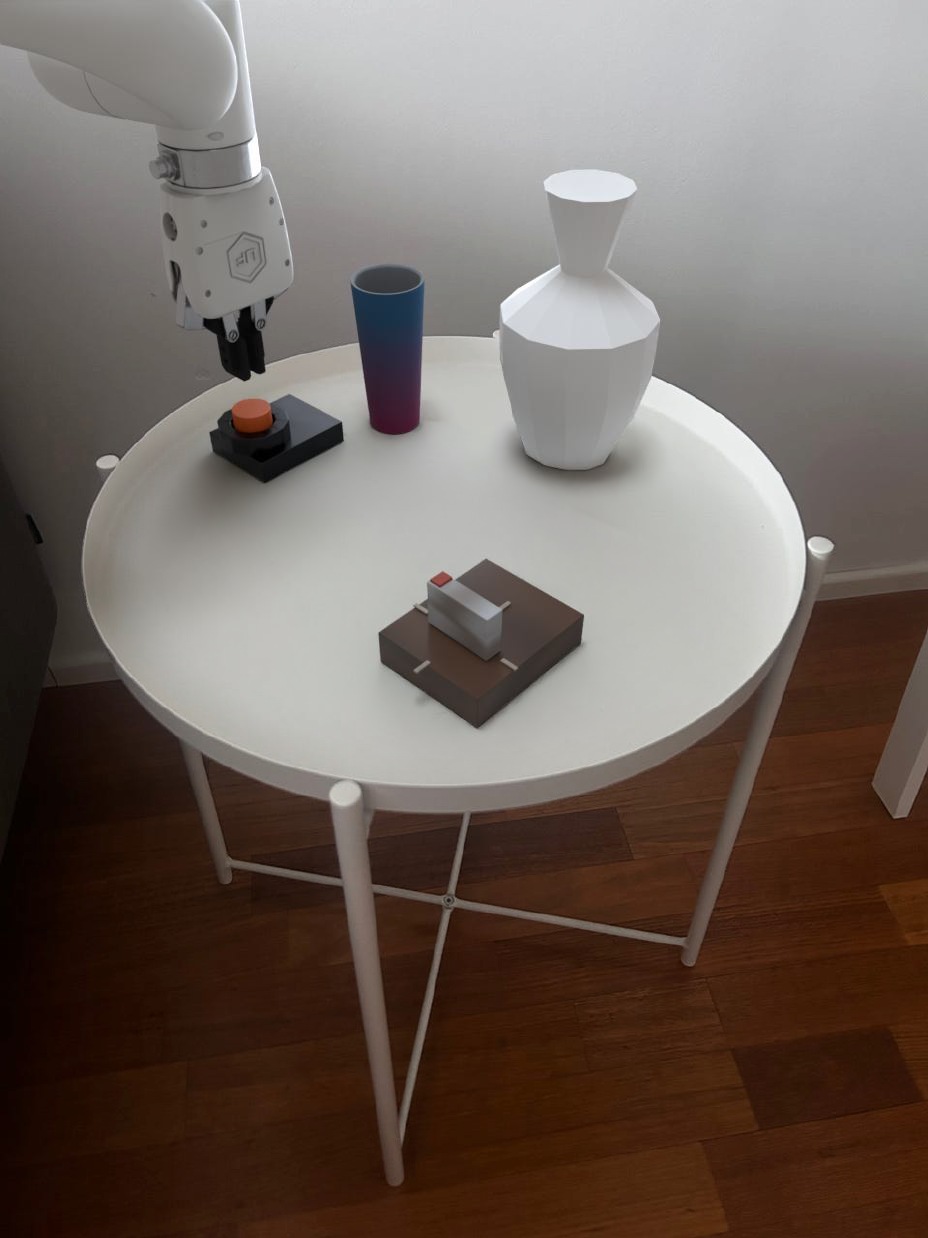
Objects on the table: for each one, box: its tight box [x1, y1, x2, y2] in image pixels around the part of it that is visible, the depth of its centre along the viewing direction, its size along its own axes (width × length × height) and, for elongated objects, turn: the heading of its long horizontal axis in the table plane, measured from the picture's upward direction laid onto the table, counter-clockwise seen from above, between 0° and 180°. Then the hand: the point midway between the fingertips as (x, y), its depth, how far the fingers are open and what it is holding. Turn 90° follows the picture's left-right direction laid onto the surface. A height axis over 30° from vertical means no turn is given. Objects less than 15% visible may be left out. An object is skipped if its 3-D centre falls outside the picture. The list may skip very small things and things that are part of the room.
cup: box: [349, 262, 426, 435], centre depth 97 cm, size 7×7×15 cm
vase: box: [498, 168, 661, 471], centre depth 90 cm, size 14×14×25 cm
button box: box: [208, 393, 345, 484], centre depth 97 cm, size 11×8×4 cm
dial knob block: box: [377, 558, 585, 728], centre depth 76 cm, size 13×10×3 cm
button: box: [231, 398, 273, 433], centre depth 95 cm, size 4×4×2 cm
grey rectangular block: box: [426, 570, 502, 661], centre depth 73 cm, size 6×2×4 cm, turn 46°
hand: (245, 371), depth 91 cm, fingers closed
